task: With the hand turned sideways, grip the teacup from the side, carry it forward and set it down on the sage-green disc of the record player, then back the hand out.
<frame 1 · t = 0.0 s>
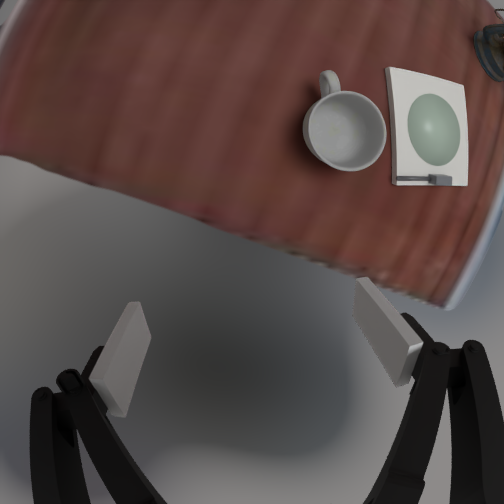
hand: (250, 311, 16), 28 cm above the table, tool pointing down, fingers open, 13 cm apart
lantern: (490, 53, 32), on the table
teacup: (328, 122, 39), on the table
record player: (430, 129, 39), on the table
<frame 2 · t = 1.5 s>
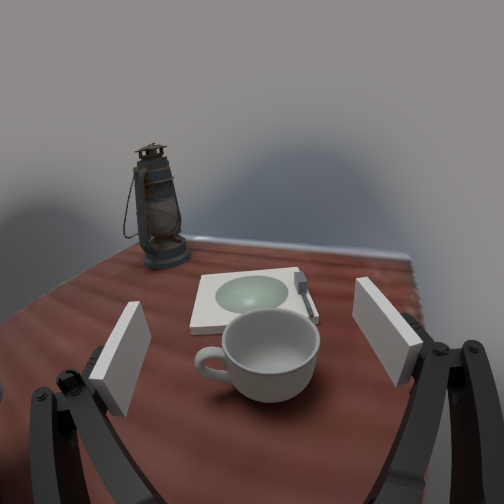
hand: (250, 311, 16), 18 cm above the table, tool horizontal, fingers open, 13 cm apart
lantern: (165, 259, 73), on the table
teacup: (260, 384, 33), on the table
record player: (252, 300, 51), on the table
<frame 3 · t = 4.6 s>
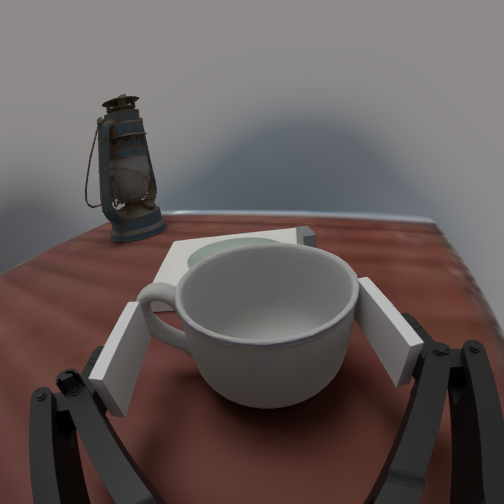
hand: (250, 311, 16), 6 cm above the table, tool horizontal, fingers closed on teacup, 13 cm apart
lantern: (135, 233, 58), on the table
teacup: (251, 372, 20), on the table, touching gripper
record player: (239, 267, 37), on the table
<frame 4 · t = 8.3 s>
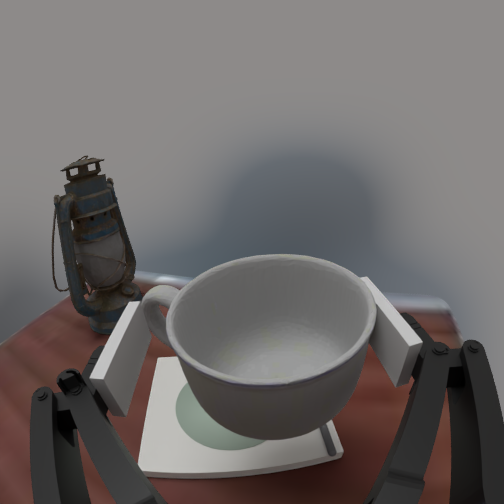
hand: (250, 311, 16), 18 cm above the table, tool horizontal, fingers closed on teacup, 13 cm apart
lantern: (116, 315, 50), on the table
teacup: (255, 390, 18), point 12 cm above the table, touching gripper
record player: (234, 410, 29), on the table
when the fingers open (9 cm above the table, at t = 11.2 s): teacup drops 1 cm, resting on record player.
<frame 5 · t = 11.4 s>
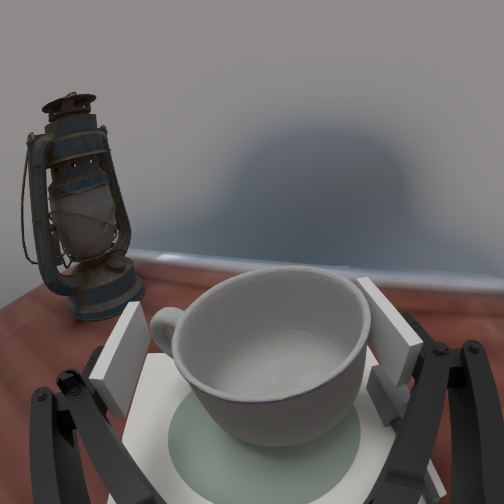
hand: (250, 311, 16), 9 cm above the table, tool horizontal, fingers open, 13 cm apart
lantern: (103, 298, 39), on the table
teacup: (266, 398, 19), point 2 cm above the table, touching record player, gripper
record player: (264, 439, 17), on the table
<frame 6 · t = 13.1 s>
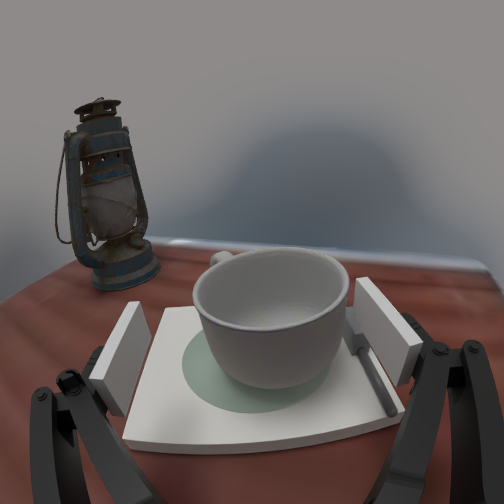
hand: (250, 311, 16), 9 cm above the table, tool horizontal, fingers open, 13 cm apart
lantern: (122, 274, 46), on the table
teacup: (266, 351, 24), point 2 cm above the table, touching record player
record player: (257, 366, 24), on the table
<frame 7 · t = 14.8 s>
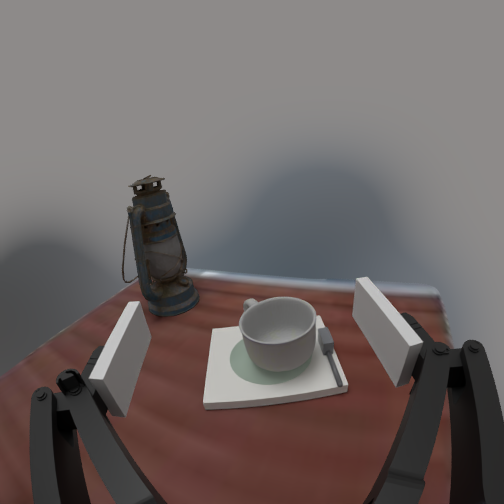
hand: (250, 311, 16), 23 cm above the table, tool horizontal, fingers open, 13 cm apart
lantern: (171, 302, 66), on the table
teacup: (276, 353, 43), point 2 cm above the table, touching record player
record player: (271, 362, 43), on the table
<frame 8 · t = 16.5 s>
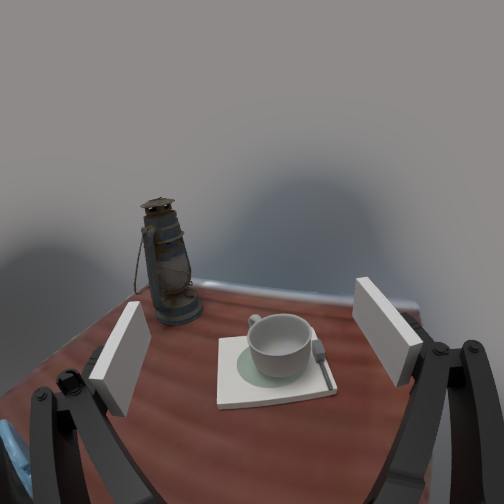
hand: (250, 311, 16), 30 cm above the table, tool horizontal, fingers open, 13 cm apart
lantern: (177, 311, 72), on the table
teacup: (276, 360, 50), point 2 cm above the table, touching record player
record player: (272, 368, 51), on the table
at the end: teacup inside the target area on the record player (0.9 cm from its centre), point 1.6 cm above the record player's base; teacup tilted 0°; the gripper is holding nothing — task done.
